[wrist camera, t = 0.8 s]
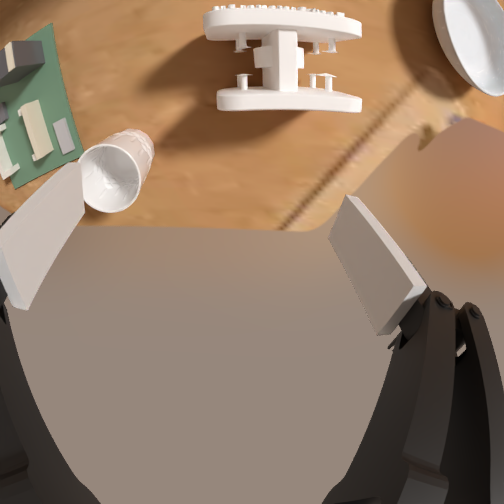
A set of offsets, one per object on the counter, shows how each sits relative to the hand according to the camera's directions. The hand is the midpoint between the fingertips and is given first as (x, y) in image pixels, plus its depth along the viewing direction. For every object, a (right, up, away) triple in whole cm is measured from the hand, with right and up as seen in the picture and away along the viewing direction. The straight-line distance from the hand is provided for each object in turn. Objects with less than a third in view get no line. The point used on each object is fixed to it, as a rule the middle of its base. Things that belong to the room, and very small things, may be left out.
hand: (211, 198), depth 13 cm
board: (-31, +18, +12) cm, 38 cm away
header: (-32, +14, +15) cm, 38 cm away
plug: (-29, +24, +8) cm, 39 cm away
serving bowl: (+36, +34, +10) cm, 51 cm away
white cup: (-14, +11, +21) cm, 27 cm away
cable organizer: (+4, +21, +16) cm, 26 cm away
